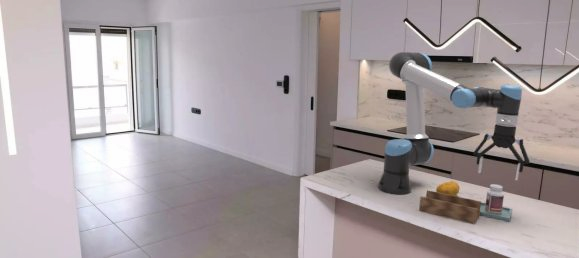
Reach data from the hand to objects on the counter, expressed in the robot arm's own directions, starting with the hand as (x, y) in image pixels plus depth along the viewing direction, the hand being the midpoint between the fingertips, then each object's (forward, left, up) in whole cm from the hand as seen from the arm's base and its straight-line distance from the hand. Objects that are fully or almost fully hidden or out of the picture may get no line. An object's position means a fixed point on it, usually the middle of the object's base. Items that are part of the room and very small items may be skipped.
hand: (497, 176), depth 163 cm
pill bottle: (0, 0, -15) cm, 15 cm away
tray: (0, 0, -16) cm, 16 cm away
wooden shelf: (-15, -12, -16) cm, 25 cm away
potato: (-20, +7, -16) cm, 26 cm away
